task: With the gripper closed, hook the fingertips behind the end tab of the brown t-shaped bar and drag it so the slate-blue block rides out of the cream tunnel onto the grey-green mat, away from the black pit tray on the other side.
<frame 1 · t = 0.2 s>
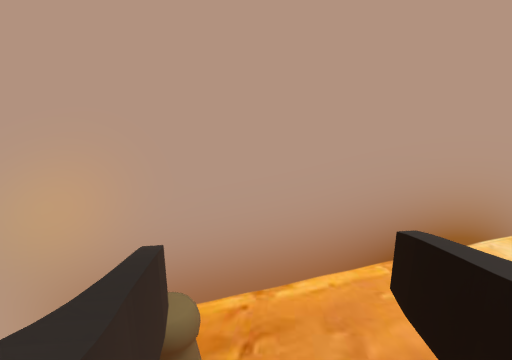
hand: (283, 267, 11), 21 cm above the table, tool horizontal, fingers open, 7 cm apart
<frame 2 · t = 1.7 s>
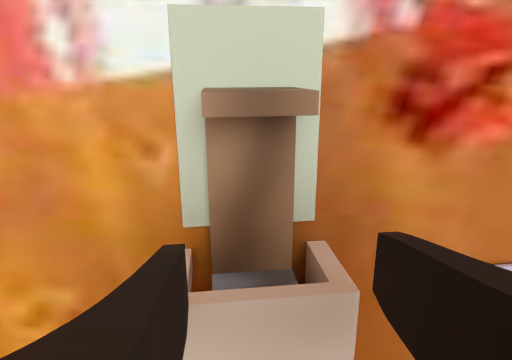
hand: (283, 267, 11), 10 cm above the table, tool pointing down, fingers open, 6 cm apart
tunnel: (250, 293, 23), on the table
mat: (248, 123, 20), on the table
brown t-shaped bar: (255, 251, 19), point 3 cm above the table, slide at 0.0 cm
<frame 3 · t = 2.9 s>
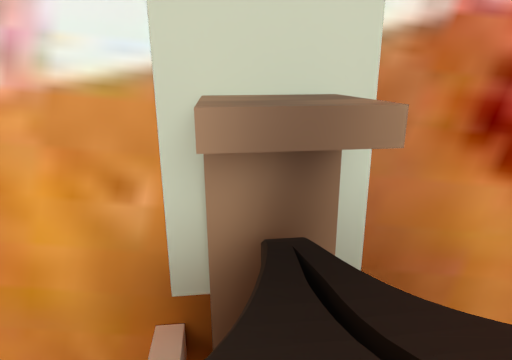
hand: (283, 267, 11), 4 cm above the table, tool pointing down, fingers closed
mat: (268, 148, 13), on the table
brown t-shaped bar: (279, 344, 12), point 3 cm above the table, slide at 0.0 cm
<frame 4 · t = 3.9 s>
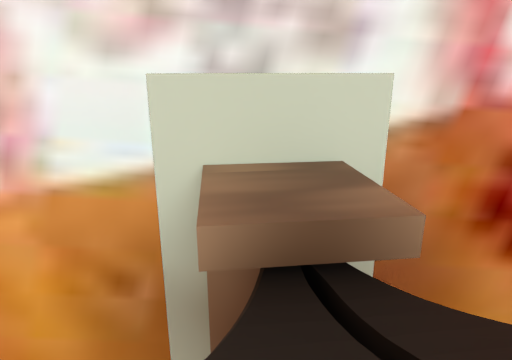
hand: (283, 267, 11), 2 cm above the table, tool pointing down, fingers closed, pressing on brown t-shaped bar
mat: (271, 241, 13), on the table
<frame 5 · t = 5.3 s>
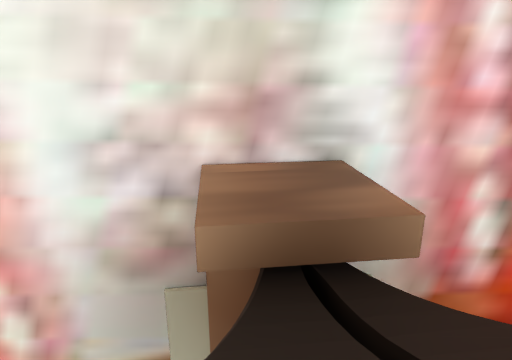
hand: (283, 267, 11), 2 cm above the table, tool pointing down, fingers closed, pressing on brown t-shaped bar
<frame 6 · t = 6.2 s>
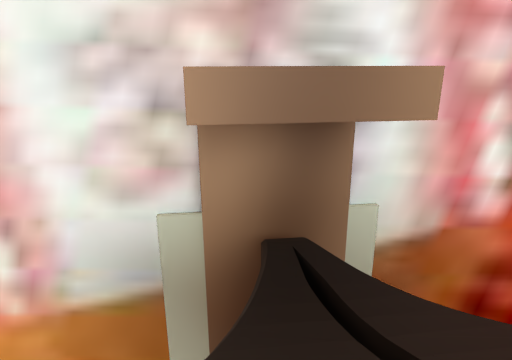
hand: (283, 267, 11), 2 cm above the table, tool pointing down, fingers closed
mat: (269, 345, 14), on the table
brown t-shaped bar: (284, 351, 11), point 3 cm above the table, slide at 8.8 cm
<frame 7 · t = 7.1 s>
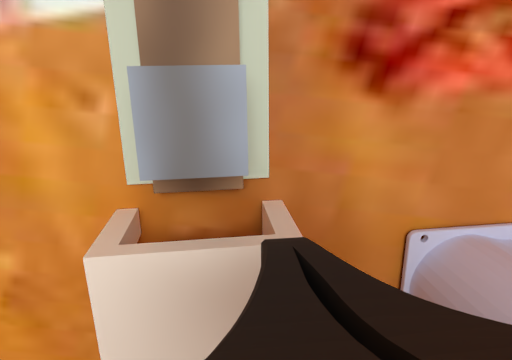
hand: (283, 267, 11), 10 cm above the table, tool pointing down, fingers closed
tunnel: (204, 257, 22), on the table
mat: (192, 70, 18), on the table
brown t-shaped bar: (186, 15, 15), point 3 cm above the table, slide at 8.8 cm
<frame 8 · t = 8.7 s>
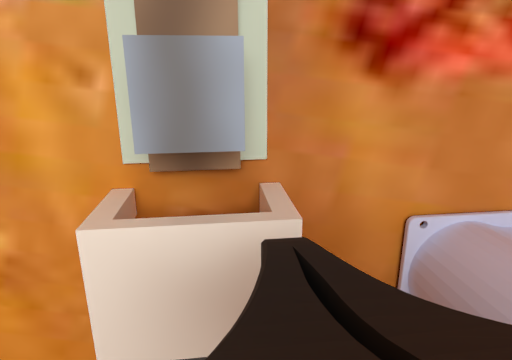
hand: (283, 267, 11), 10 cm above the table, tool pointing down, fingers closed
tunnel: (201, 240, 21), on the table
mat: (190, 47, 18), on the table
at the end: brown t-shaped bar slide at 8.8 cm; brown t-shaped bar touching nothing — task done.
